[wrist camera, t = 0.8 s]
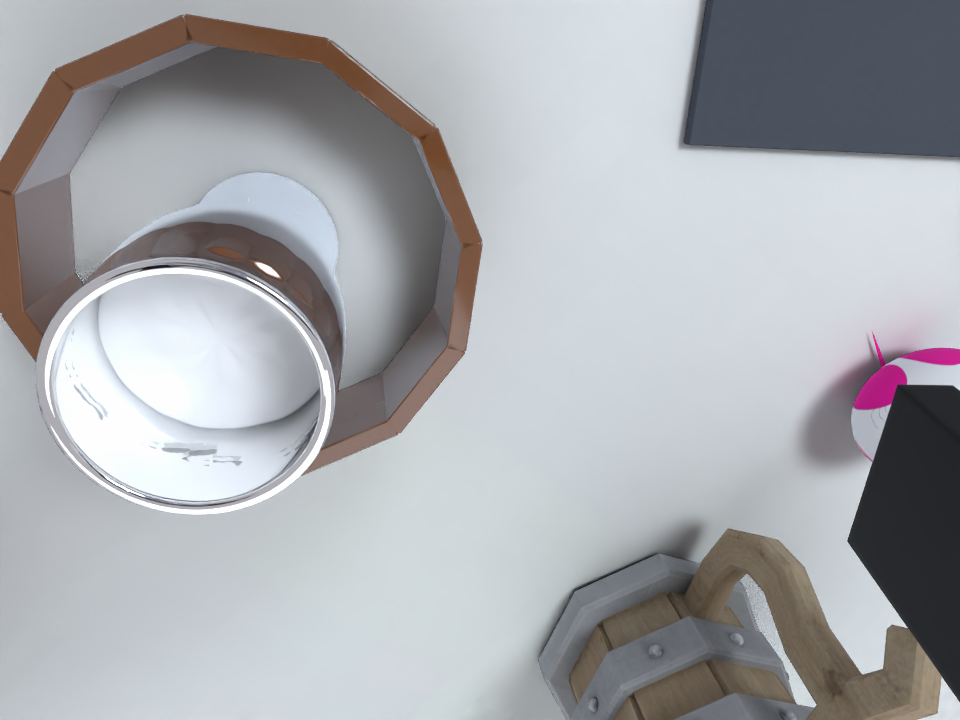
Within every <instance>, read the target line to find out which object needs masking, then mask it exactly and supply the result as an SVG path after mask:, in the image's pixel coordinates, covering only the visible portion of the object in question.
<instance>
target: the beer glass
mask: <svg viewBox="0 0 960 720" xmlns="http://www.w3.org/2000/svg"><path fill="white" fill-rule="evenodd" d="M338 250H339V249H338V237H337V232H336V228H335V225H334V223H333V220H332V218H331V216H330V214H329V212H328V211H327V209H326V208H325V206H324V205H323V204H322V202H321V201H320V200H319V199H318V198H317V197H316V196H315V195H314V194H313V193H312V192H311V191H309V190H308V189H307V188H305V187H304V186H303V185H301V184H299V183H297V182H295V181H293V180H291V179H289V178H286V177H284V176H280V175H276V174H272V173H264V172H252V173H245V174H240V175H237V176H234V177H231V178H229V179H226V180H224V181H222V182H221V183H219V184H217V185H216V186H214V187H213V188H212V189H211V190H209V191H208V192H207V193H206V194H205V196H204V197H203V198H202V199H201V201H200V202H199V203H198V205H195V206H191V207H187V208H184V209H180V210H177V211H174V212H171V213H169V214H167V215H164V216H162V217H160V218H158V219H157V220H155V221H153V222H151V223H150V224H148V225H147V226H145V227H144V228H142V229H140V230H139V231H137V232H136V233H134V234H133V235H131V236H130V237H129V238H127V239H126V240H125V241H124V242H123V243H121V244H120V245H119V246H118V247H117V248H116V249H115V250H114V251H113V252H112V253H111V254H110V255H108V256H107V257H106V258H105V259H104V260H103V261H102V262H101V263H100V265H99V266H98V267H97V268H96V269H95V270H94V272H93V273H92V274H91V275H90V276H89V277H88V278H87V280H86V281H85V282H84V283H83V285H82V286H81V287H80V288H79V290H78V291H77V292H76V293H74V294H73V295H72V296H71V297H70V298H69V299H68V300H67V301H66V302H65V303H64V304H63V306H62V307H61V308H60V309H59V310H58V312H57V313H56V315H55V316H54V317H53V319H52V321H51V322H50V324H49V326H48V328H47V330H46V332H45V334H44V336H43V339H42V342H41V345H40V348H39V352H38V356H37V363H36V374H35V376H36V392H37V398H38V403H39V407H40V410H41V413H42V416H43V419H44V421H45V424H46V426H47V428H48V430H49V432H50V434H51V435H52V437H53V439H54V440H55V442H56V444H57V445H58V446H59V448H60V449H61V451H62V452H63V453H64V454H65V456H66V457H67V458H68V459H69V460H70V461H71V462H72V463H73V464H74V465H75V466H76V467H77V468H78V469H79V470H80V471H81V472H82V473H83V474H84V475H86V476H87V477H88V478H89V479H91V480H92V481H93V482H95V483H96V484H98V485H99V486H101V487H102V488H104V489H105V490H107V491H109V492H111V493H112V494H114V495H116V496H118V497H120V498H123V499H125V500H127V501H129V502H132V503H135V504H137V505H140V506H143V507H147V508H150V509H154V510H158V511H163V512H169V513H177V514H191V515H202V514H216V513H223V512H229V511H234V510H238V509H241V508H245V507H248V506H251V505H254V504H256V503H259V502H261V501H263V500H265V499H268V498H270V497H271V496H273V495H275V494H277V493H278V492H280V491H282V490H283V489H285V488H286V487H287V486H289V485H290V484H291V483H293V482H294V481H295V480H296V479H297V478H298V477H300V476H301V475H302V474H303V473H304V471H305V470H306V469H307V468H308V467H309V466H310V465H311V463H312V462H313V461H314V459H315V458H316V456H317V455H318V453H319V452H320V450H321V448H322V446H323V445H324V443H325V440H326V438H327V436H328V433H329V430H330V427H331V424H332V420H333V415H334V408H335V400H336V397H337V393H338V389H339V385H340V380H341V376H342V371H343V365H344V356H345V347H346V322H345V309H344V302H343V298H342V294H341V291H340V287H339V285H338V282H337V279H336V276H335V274H334V271H335V268H336V265H337V260H338Z"/></svg>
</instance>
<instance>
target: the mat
mask: <svg viewBox="0 0 960 720" xmlns="http://www.w3.org/2000/svg"><path fill="white" fill-rule="evenodd" d="M684 143H685V144H688V145H704V146H727V147H749V148H771V149H793V150H815V151H838V152H860V153H882V154H904V155H926V156H949V157H960V0H707V3H706V9H705V15H704V21H703V27H702V34H701V40H700V46H699V52H698V59H697V65H696V71H695V77H694V83H693V90H692V96H691V102H690V108H689V114H688V121H687V127H686V133H685V139H684Z"/></svg>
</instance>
